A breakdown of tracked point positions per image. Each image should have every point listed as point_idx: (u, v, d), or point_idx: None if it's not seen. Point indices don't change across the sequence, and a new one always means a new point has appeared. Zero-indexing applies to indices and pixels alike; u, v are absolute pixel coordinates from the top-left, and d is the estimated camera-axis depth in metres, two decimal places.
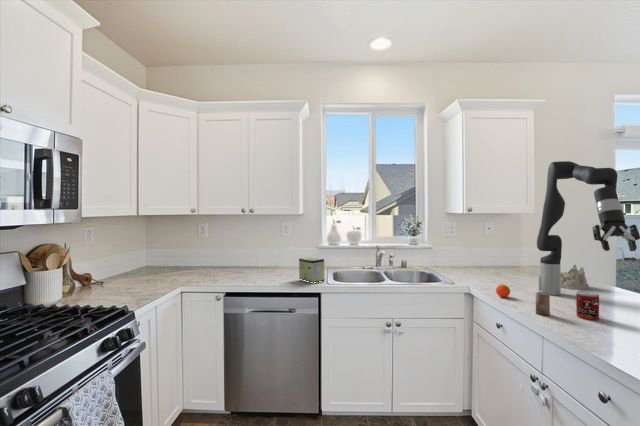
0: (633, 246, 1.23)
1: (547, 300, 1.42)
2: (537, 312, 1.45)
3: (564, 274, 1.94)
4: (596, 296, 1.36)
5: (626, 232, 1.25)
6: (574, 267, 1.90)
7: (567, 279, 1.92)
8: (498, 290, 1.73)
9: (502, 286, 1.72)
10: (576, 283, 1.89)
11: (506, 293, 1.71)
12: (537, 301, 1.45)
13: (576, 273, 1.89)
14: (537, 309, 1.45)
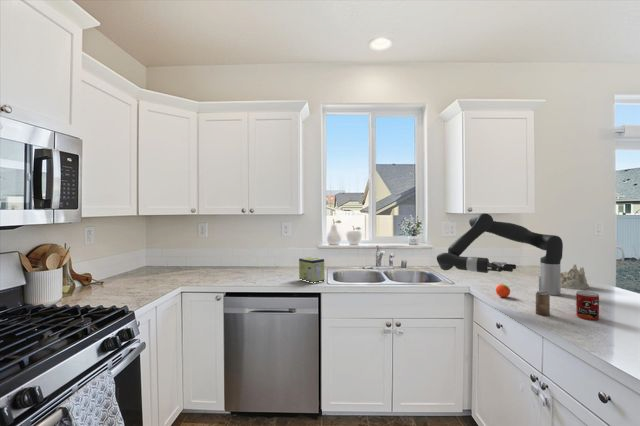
0: None
1: (547, 300, 1.42)
2: (537, 312, 1.45)
3: (564, 274, 1.94)
4: (596, 296, 1.36)
5: None
6: (574, 267, 1.90)
7: (567, 279, 1.92)
8: (498, 290, 1.73)
9: (502, 286, 1.72)
10: (576, 283, 1.89)
11: (506, 293, 1.71)
12: (537, 301, 1.45)
13: (576, 273, 1.90)
14: (537, 309, 1.45)
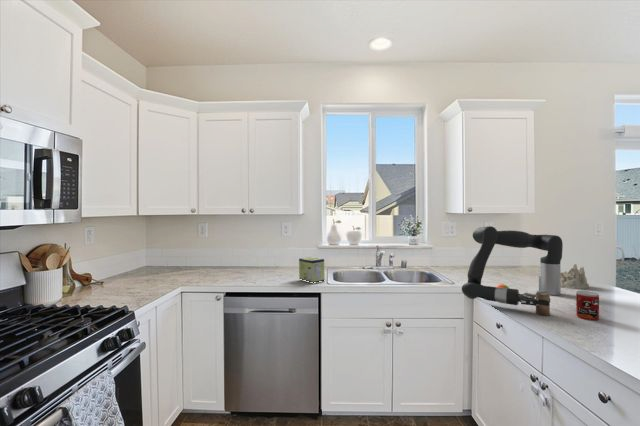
0: None
1: (547, 300, 1.42)
2: (537, 312, 1.45)
3: (565, 274, 1.95)
4: (596, 296, 1.36)
5: None
6: (575, 267, 1.91)
7: (568, 279, 1.93)
8: None
9: (502, 286, 1.72)
10: (577, 282, 1.90)
11: None
12: None
13: (577, 273, 1.91)
14: (537, 309, 1.45)
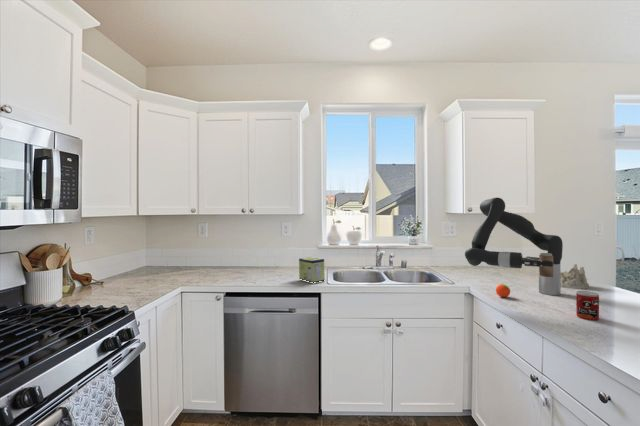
0: None
1: None
2: (541, 274, 1.44)
3: (565, 273, 1.96)
4: (596, 296, 1.36)
5: None
6: (575, 266, 1.92)
7: (568, 278, 1.94)
8: (499, 290, 1.73)
9: (502, 286, 1.72)
10: (577, 282, 1.90)
11: (506, 293, 1.71)
12: None
13: (577, 272, 1.91)
14: (541, 271, 1.44)
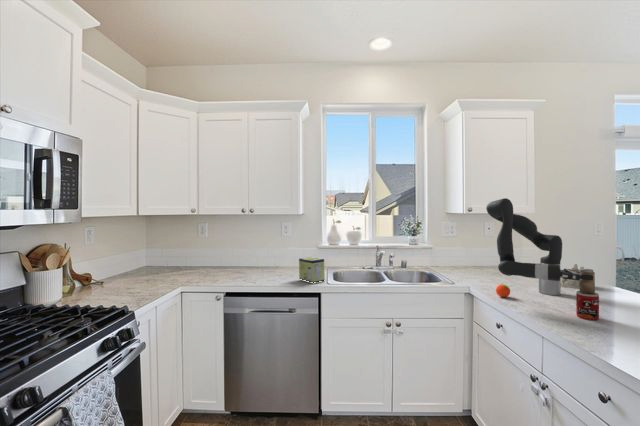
0: None
1: None
2: (581, 290, 1.39)
3: None
4: (596, 296, 1.36)
5: None
6: (575, 266, 1.92)
7: None
8: (499, 290, 1.72)
9: (502, 286, 1.72)
10: (577, 282, 1.91)
11: (506, 293, 1.71)
12: None
13: None
14: (581, 287, 1.39)
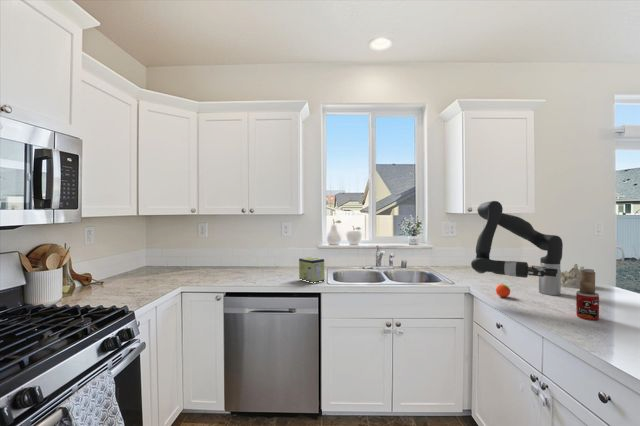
0: None
1: (593, 277, 1.37)
2: (582, 290, 1.39)
3: (565, 273, 1.97)
4: (596, 296, 1.36)
5: None
6: (575, 266, 1.93)
7: (568, 278, 1.95)
8: (499, 290, 1.72)
9: (502, 286, 1.72)
10: (577, 282, 1.91)
11: (506, 293, 1.71)
12: (582, 279, 1.39)
13: (577, 272, 1.92)
14: (582, 287, 1.39)
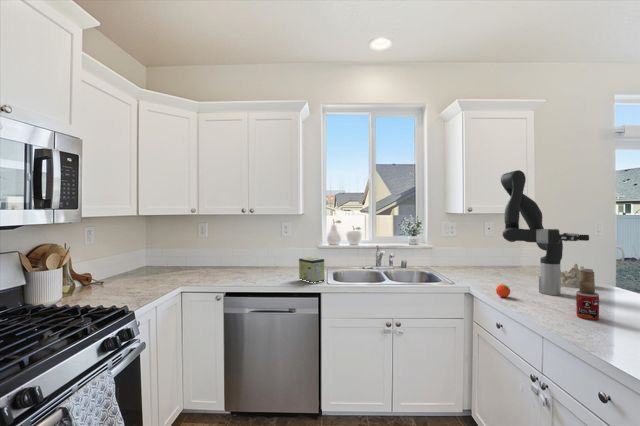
0: None
1: (592, 277, 1.37)
2: (582, 290, 1.39)
3: (565, 273, 1.97)
4: (596, 296, 1.36)
5: (570, 240, 1.55)
6: (575, 266, 1.93)
7: (569, 278, 1.95)
8: (499, 290, 1.72)
9: (502, 286, 1.72)
10: (577, 282, 1.92)
11: (506, 293, 1.71)
12: (581, 279, 1.39)
13: (577, 272, 1.93)
14: (582, 287, 1.39)
